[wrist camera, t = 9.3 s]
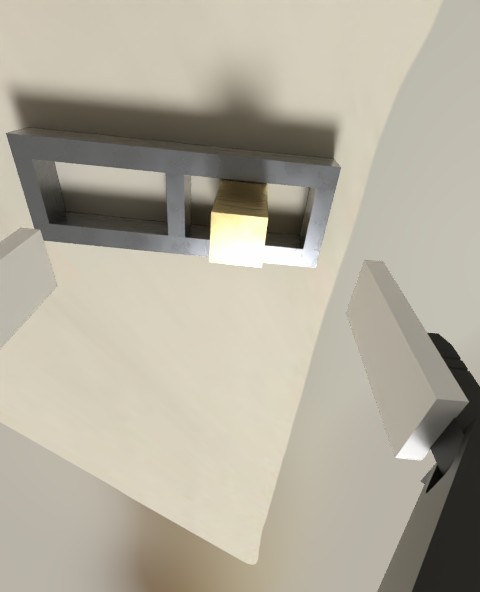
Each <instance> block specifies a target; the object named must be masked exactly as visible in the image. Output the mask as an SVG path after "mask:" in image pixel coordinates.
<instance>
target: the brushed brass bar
mask: <svg viewBox="0 0 480 592" xmlns="http://www.w3.org/2000/svg"><path fill="white" fill-rule="evenodd" d="M267 224H268V202H267V185H263V184H253V183H243V182H234V181H224V180H222V183H221V186H220V189H219V191H218V194H217V197H216V200H215V203H214V206H213V208H212V211H211V232H210V259H209V262H212V263H222V264H232V265H241V266H251V267H261V265H262V258H263V251H264V244H265V237H266V230H267Z"/></svg>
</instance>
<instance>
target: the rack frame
mask: <svg viewBox="0 0 480 592" xmlns="http://www.w3.org/2000/svg"><path fill="white" fill-rule="evenodd" d="M6 135H7V138H8V141H9V145H10V148H11V151H12V155H13V158H14V161H15V165H16V168H17V171H18V175H19V178H20V181H21V185H22V188H23V191H24V195H25V198H26V202H27V205H28V208H29V212H30V215H31V218H32V222H33V225H34V228H35V229H39V230H40V231H41V234H42V237H43V240H44V241H54V242H64V243H74V244H84V245H94V246H104V247H114V248H124V249H134V250H144V251H154V252H164V253H174V254H184V255H194V256H204V257H210V232H211V226H201V225H191V175H193V176H203V177H213V178H223V179H232V180H242V181H252V182H262V183H272V184H281V185H291V186H301V187H310V190H309V194H308V199H307V204H306V209H305V214H304V218H303V223H302V228H301V233H300V235H290V234H280V233H270V232H266V237H265V244H264V251H263V258H262V262H263V263H273V264H283V265H293V266H303V267H313V268H316V264H317V260H318V256H319V252H320V248H321V244H322V240H323V236H324V232H325V228H326V225H327V221H328V217H329V213H330V209H331V205H332V201H333V197H334V193H335V189H336V185H337V181H338V177H339V173H340V169H341V167H340V166H339V164H338V163H337V162H336V161H335V160H334V159H331V158H321V157H311V156H302V155H292V154H282V153H272V152H263V151H253V150H243V149H233V148H224V147H214V146H204V145H195V144H185V143H175V142H165V141H156V140H146V139H136V138H126V137H117V136H107V135H97V134H88V133H78V132H68V131H58V130H49V129H39V128H25V129H20V130H16V131H12V132H8V133H6ZM54 161H56V162H66V163H76V164H86V165H95V166H105V167H115V168H125V169H135V170H144V171H154V172H164V173H166V195H167V217H168V222H161V221H151V220H142V219H132V218H122V217H112V216H102V215H92V214H82V213H72V212H66V211H65V206H64V202H63V198H62V194H61V189H60V185H59V181H58V176H57V172H56V168H55V163H54Z"/></svg>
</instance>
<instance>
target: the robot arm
mask: <svg viewBox="0 0 480 592" xmlns="http://www.w3.org/2000/svg"><path fill="white" fill-rule="evenodd" d="M57 286H58V285H57V282H56V279H55V276H54V273H53V269H52V266H51V263H50V260H49V257H48V253H47V250H46V247H45V244H44V241H43V237H42V234H41V231H40V230H39V229H29V228H20V229H19V230H17V231H16V232H14V233H13V234H11V235H10V236H9V237H7V238H6V239H4V240H3V241H1V242H0V349H1V348H2V347H3V346H4V345H5V344H6V343H7V341H8V340H9V339H10V338H11V337H12V336H13V335H14V334H15V333H16V331H17V330H18V329H19V328H20V327H21V326H22V325H23V324H24V323H25V321H26V320H27V319H28V318H29V317H30V316H31V315H32V314H33V313H34V312H35V310H36V309H37V308H38V307H39V306H40V305H41V304H42V303H43V302H44V300H45V299H46V298H47V297H48V296H49V295H50V294H51V293H52V292H53V291H54V289H55V288H56V287H57ZM346 314H347V317H348V319H349V323H350V326H351V328H352V331H353V335H354V338H355V340H356V343H357V346H358V349H359V352H360V355H361V358H362V361H363V364H364V367H365V370H366V373H367V376H368V379H369V382H370V385H371V388H372V390H373V393H374V397H375V400H376V403H377V405H378V408H379V412H380V414H381V417H382V420H383V423H384V426H385V429H386V432H387V435H388V438H389V441H390V443H391V447H392V450H393V453H394V456H395V458H402V459H413V460H422V459H423V458H424V457H425V456H426V454H427V453H428V452H429V451H430V449H431V450H432V453H433V455H434V457H435V460H436V462H437V463H436V464H435V465H434V466H433V468H432V469H431V470H430V471H429V472H428V473H427V474H426V476H425V477H424V478H423V479H422V480H421V482H423V483H424V484H425V485H424V487H423V490H422V492H421V494H420V496H419V499H418V501H417V503H416V505H415V508H414V510H413V512H412V514H411V517H410V519H409V521H408V523H407V526H406V528H405V530H404V533H403V535H402V537H401V540H400V542H399V544H398V546H397V549H396V551H395V553H394V555H393V558H392V560H391V562H390V564H389V567H388V569H387V571H386V574H385V576H384V578H383V580H382V583H381V585H380V587H379V589H378V592H480V386H479V385H478V383H477V382H476V380H475V379H474V377H473V376H472V374H471V373H470V371H467V367H466V366H465V364H464V363H463V361H461V360H460V357H459V355H458V354H457V352H456V351H455V349H454V348H453V346H452V345H451V344H450V343H448V342H447V341H446V340H445V339H444V338H443V337H442V336H440V335H439V334H435V333H427V332H426V331H425V329H424V327H423V326H422V324H421V322H420V321H419V319H418V318H417V316H416V314H415V313H414V311H413V309H412V308H411V306H410V304H409V303H408V301H407V299H406V298H405V296H404V294H403V293H402V291H401V290H400V288H399V286H398V285H397V283H396V281H395V280H394V278H393V277H392V275H391V273H390V271H389V270H388V268H387V267H386V265H385V263H384V262H383V261H372V260H364V263H363V266H362V269H361V271H360V274H359V277H358V280H357V283H356V286H355V289H354V291H353V294H352V297H351V300H350V303H349V306H348V309H347V311H346Z"/></svg>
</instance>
